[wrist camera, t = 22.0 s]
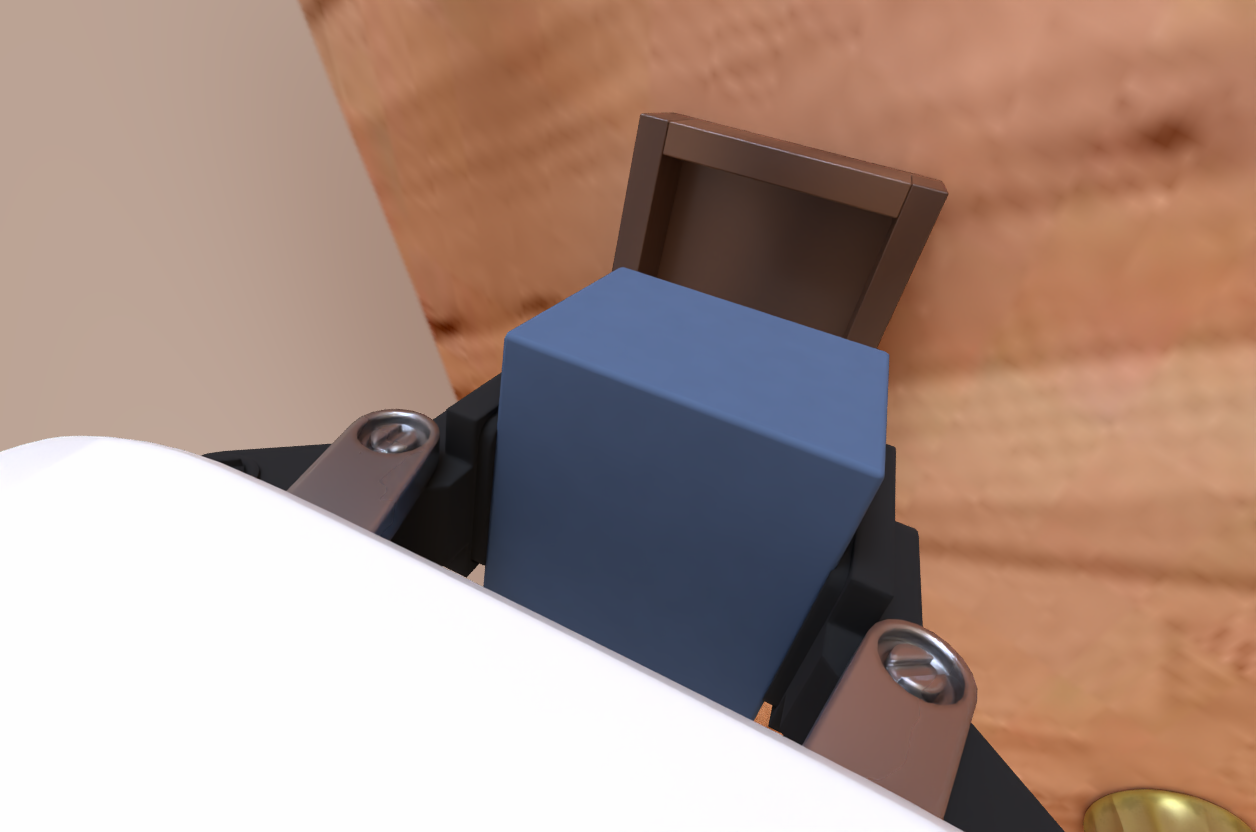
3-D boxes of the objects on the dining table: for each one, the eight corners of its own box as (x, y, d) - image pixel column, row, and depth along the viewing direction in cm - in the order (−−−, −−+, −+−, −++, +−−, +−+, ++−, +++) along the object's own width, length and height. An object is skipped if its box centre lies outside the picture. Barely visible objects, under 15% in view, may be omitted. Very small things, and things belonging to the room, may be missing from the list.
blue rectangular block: (892, 351, 10) (887, 475, 7) (776, 593, 13) (735, 758, 10) (621, 264, 11) (502, 331, 8) (575, 505, 14) (477, 626, 11)
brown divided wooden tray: (943, 181, 19) (948, 193, 16) (767, 567, 28) (754, 612, 26) (672, 111, 21) (640, 113, 19) (593, 491, 31) (565, 525, 28)
